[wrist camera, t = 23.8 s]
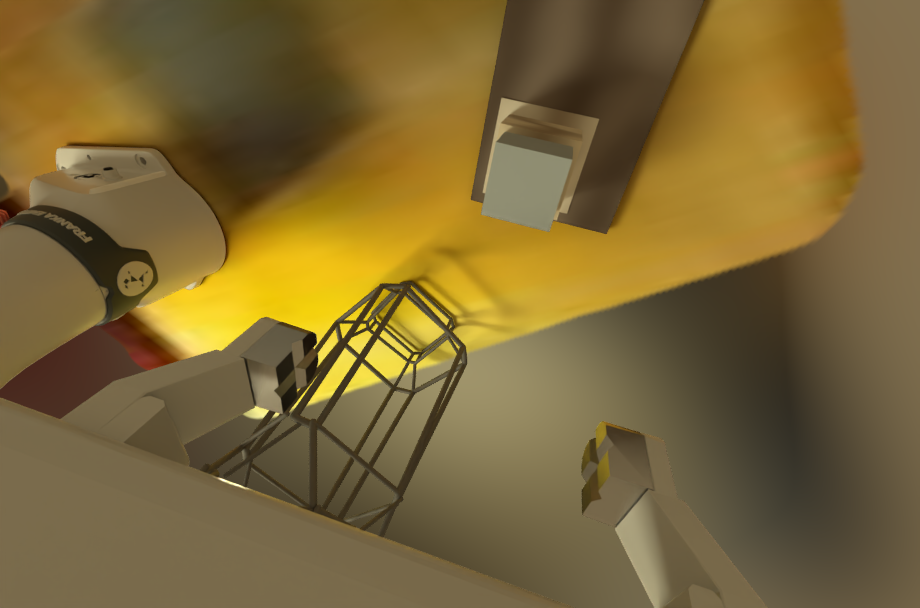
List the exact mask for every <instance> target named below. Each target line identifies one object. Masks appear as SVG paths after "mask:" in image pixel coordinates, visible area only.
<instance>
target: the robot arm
mask: <svg viewBox="0 0 920 608" xmlns="http://www.w3.org/2000/svg"><path fill="white" fill-rule="evenodd" d="M56 166H57V171H55V172H51V173H47V174H43V175H40V176H37V177H35V178H34V179H33V180H32V182H31V184H30V208H29V209H28V210H26V211H22V212H20V213H18V214H17V216H15V217H13V218H11V219H10V220H9V216H8V214H7V212H6V211H4V210H0V389H1V388H2V387H3V386H4V385H5V384H6V383H7V382H8V381H10V380H11V379H12V378H13V377H14V376H16V375H17V374H18V373H20V372H21V371H22V370H24V369H25V368H26V367H28V366H29V365H31V364H32V363H34V362H36V361H37V360H39V359H40V358H41V357H43V356H45V355H46V354H48V353H49V352H51V351H53V350H54V349H56V348H57V347H59V346H61V345H62V344H64V343H65V342H67V341H69V340H70V339H72V338H74V337H75V336H77V335H79V334H80V333H82V332H84V331H86V330H87V329H89V328H91V327H92V326H100V325H104V324H106V323H108V322H110V321H112V320H115V319H118V318H120V317H122V316H123V315H124V314H125V313H127V312H128V311H130V310H132V309H133V308H135V307H136V306H137V307H144V306H146V305H149V304H151V303H153V302H155V301H157V300H159V299H161V298H164V297H166V296H168V295H170V294H172V293H174V292H176V291H178V290H180V289H182V288H186V289H189V290H191V289H194V288H196V287H198V286H199V285H200V284H201V282H202V280H203V278H204V277H205V276H208V275H210V274H213V273H215V272H216V271H218V270H219V269H220V268H221V266H222V265H223V262H224V260H225V255H226V246H225V239H224V235H223V232H222V230H221V227H220V225H219V223H218V221H217V219H216V217H215V215H214V213H213V212H212V210H211V209H210V207H209V206H208V205H207V203H206V202H205V201H204V200H203V199H202V197H201V196H200V195H199V194H198V193H197V192H196V191H195V190H194V189H193V188H192V187H191V186H189V185H188V184H187V183H186V182H185V181H184V180H182V179H181V178H180V177H179V176H178V175H177V174H176V172H175V171H174V169H173V168H172V167H171V165H170V164H169V162H168V161H167V160H166V158H165V157H164V156H163V155H162V154H161V153H160V152H159V151H158V150H156V149H153V148H130V147H96V146H64V147H61V148H58V149H57V151H56ZM316 344H317V338H316V334H315V333H313V332H311V331H308V330H305V329H302V328H299V327H296V326H293V325H290V324H287V323H284V322H280V321H277V320H274V319H271V318H268V317H264V318H261V319H259V320H258V321H257V322H256V323H254V324H253V325H252V326H251V327H250V328H249V329H247V330H246V331H245V332H244V333H243V334H241V335H240V336H239V337H238V338H237V339H235V340H234V341H233V342H232V343H231V344H229V345H228V346H227V347H226V348H225V349H223V350H222V351H219V350H214V351H211V352H207V353H204V354H201V355H198V356H194V357H191V358H188V359H185V360H181V361H178V362H175V363H172V364H168V365H165V366H162V367H159V368H155V369H152V370H149V371H146V372H142V373H139V374H136V375H133V376H130V377H127V378H123V379H120V380H117V381H113V382H112V383H111V384H109V385H108V386H106V387H105V388H104V389H102V390H101V391H99V392H98V393H97V394H95V395H94V396H92V397H91V398H90V399H88V400H87V401H85V402H84V403H83V404H81V405H80V406H78V407H77V408H75V409H74V410H73V411H71V412H70V413H68V414H67V415H66V416H64V417H63V418H61V419H57V418H54V417H51V416H49V415H46V414H43V413H41V412H38V411H35V410H33V409H30V408H27V407H24V406H22V405H19V404H16V403H13V402H11V401H8V400H5V399H3V398H0V608H574V607H571V606H568V605H566V604H563V603H560V602H558V601H555V600H552V599H550V598H547V597H544V596H541V595H538V594H536V593H533V592H530V591H528V590H525V589H522V588H520V587H517V586H514V585H511V584H508V583H506V582H503V581H500V580H498V579H495V578H492V577H490V576H487V575H484V574H481V573H479V572H476V571H473V570H470V569H468V568H465V567H462V566H460V565H457V564H454V563H451V562H448V561H446V560H443V559H440V558H437V557H435V556H432V555H430V554H427V553H424V552H421V551H419V550H416V549H413V548H410V547H408V546H405V545H402V544H399V543H397V542H394V541H391V540H389V539H386V538H383V537H380V536H378V535H375V534H372V533H369V532H367V531H364V530H361V529H358V528H356V527H353V526H350V525H347V524H345V523H342V522H339V521H337V520H334V519H331V518H328V517H326V516H323V515H320V514H317V513H315V512H312V511H309V510H306V509H304V508H301V507H298V506H295V505H293V504H290V503H287V502H284V501H282V500H279V499H276V498H274V497H271V496H268V495H265V494H263V493H260V492H257V491H254V490H252V489H249V488H246V487H243V486H241V485H238V484H235V483H232V482H230V481H227V480H224V479H221V478H219V477H216V476H213V475H211V474H208V473H205V472H202V471H200V470H197V469H194V468H191V467H189V466H188V465H189V457H188V455H187V453H186V450H185V448H184V446H183V445H184V444H186V443H188V442H190V441H192V440H194V439H196V438H198V437H200V436H202V435H203V434H205V433H207V432H209V431H211V430H213V429H214V428H217V427H219V426H220V425H222V424H224V423H226V422H228V421H230V420H232V419H234V418H236V417H237V416H239V415H241V414H243V413H245V412H247V411H249V410H251V409H253V408H254V407H255V406H257V407H261V408H264V409H267V410H271V411H274V412H277V413H280V414H284V413H285V411H286V410H287V409H288V408H289V406H290V405H291V404H292V403H293V402H294V400H295V399H296V398H297V397H298V396H297V389H299V388H301V387H304V386H306V385H307V384H308V383H309V382H310V380H311V379H312V378H313V376H314V374H315V371H316V369H317V365H318V354H317V353H316V351H315V350H314V348H313V347H314V346H315V345H316ZM581 469H582V471H581V473H582V476H583V478H584V480H585V481H586V484H585V486H584V487H583V489H582V515H583V516H585V517H588V518H591V519H594V520H596V521H599V522H602V523H605V524H608V525H610V526H613V527H616V528H615V530H616V532H617V534H618V536H619V538H620V540H621V542H622V544H623V546H624V548H625V550H626V552H627V554H628V556H629V558H630V560H631V562H632V564H633V566H634V568H635V570H636V572H637V574H638V576H639V578H640V580H641V582H642V584H643V586H644V588H645V590H646V592H647V594H648V596H649V598H650V600H651V602H652V604H653V606H654V608H767V606H766V605H765V604H764V602H763V601H762V600H761V599H760V597H759V596H758V595H757V593H756V592H755V591H754V590H753V588H752V587H751V586H750V585H749V583H748V582H747V581H746V579H745V578H744V577H743V576H742V574H741V573H740V572H739V571H738V569H737V568H736V567H735V565H734V564H733V563H732V562H731V560H730V559H729V558H728V556H727V555H726V554H725V553H724V551H723V550H722V549H721V548H720V546H719V545H718V544H717V542H716V541H715V540H714V539H713V537H712V536H711V535H710V533H709V532H708V531H707V530H706V528H705V527H704V526H703V525H702V523H701V522H700V521H699V519H698V518H697V517H696V516H695V514H694V513H693V512H692V511H691V509H690V508H689V507H688V505H687V504H686V503H685V502H684V501H683V500H680V499H678V497H677V493H676V489H675V485H674V480H673V476H672V471H671V467H670V463H669V458H668V454H667V450H666V446H665V442H664V441H663V440H662V439H661V438H657V437H654V436H650V435H647V434H644V433H640V432H638V431H634V430H631V429H628V428H624V427H621V426H617V425H614V424H611V423H607V422H604V421H602V422H601V423H600V424H599V425H598V427H597V428H596V438H594V439H591V440H589V442H588V444H587V446H586V448H585V450H584V454H583V457H582V466H581Z"/></svg>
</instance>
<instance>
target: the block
mask: <svg viewBox="0 0 920 608" xmlns="http://www.w3.org/2000/svg"><path fill="white" fill-rule="evenodd" d="M505 131H506V132H510V133H515V134H519V135H523V136H528V137H532V138H536V139H541V140H545V141H550V142H554V143H558V144H563V145H567V146H571V147H573V160H572V163H571V166H570V169H569V172H568V175H567V178H566V181H565V185H564V188H563V191H562V194H561V197H560V200H559V203H558V206H557V209H556V212H555V216H554V219H553V220H556V221H557V218H558V215H559V212H560V209H561V206H562V203H563V200H564V197H565V194H566V191H567V188H568V185H569V182H570V179H571V176H572V173H573V170H574V167H575V164H576V161H577V157H578V154H579V151H580V148H581V145H582V142H583V139H582V130H580V129H575V128H571V127H567V126H562V125H558V124H553V123H549V122H544V121H540V120H535V119H531V118H526V117H522V116H517V115H513V114H509V115H508V116H507V117H506V118H505V119H504V120H503V121H502V122H501V123H500V127H499V132H498V137H497V140H498V139H499V138H500V137H501V136H502V134H503V133H504V132H505Z"/></svg>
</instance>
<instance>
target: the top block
mask: <svg viewBox="0 0 920 608" xmlns="http://www.w3.org/2000/svg"><path fill="white" fill-rule="evenodd" d="M572 160H573V147H571V146H567V145H563V144H558V143H554V142H550V141H545V140H541V139H536V138H532V137H528V136H523V135H519V134H515V133H510V132H506V131H505V132H504V133H503V134H502V136H501V137H500V138H499V139H498V140H497V141H496V143H495V148H494V153H493V158H492V163H491V168H490V173H489V178H488V183H487V187H486V192H485V197H484V202H483V207H482V212H481V215H485V216H489V217H493V218H497V219H501V220H504V221H508V222H512V223H516V224H520V225H524V226H528V227H532V228H536V229H540V230H544V231H547V232H549V231H550V228H551V225H552V222H553V219H554V216H555V212H556V209H557V206H558V203H559V200H560V197H561V194H562V191H563V188H564V185H565V181H566V178H567V175H568V172H569V169H570V166H571V163H572Z"/></svg>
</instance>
